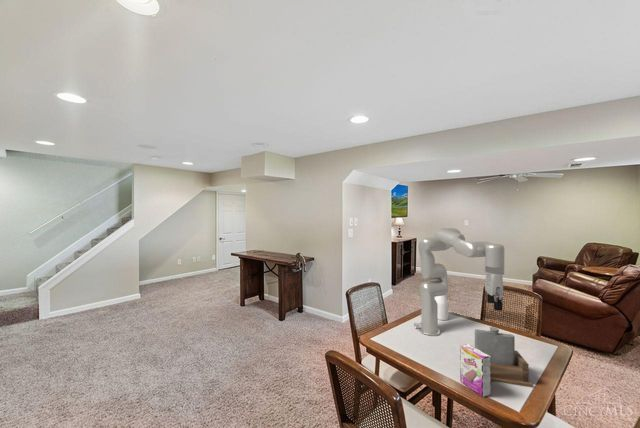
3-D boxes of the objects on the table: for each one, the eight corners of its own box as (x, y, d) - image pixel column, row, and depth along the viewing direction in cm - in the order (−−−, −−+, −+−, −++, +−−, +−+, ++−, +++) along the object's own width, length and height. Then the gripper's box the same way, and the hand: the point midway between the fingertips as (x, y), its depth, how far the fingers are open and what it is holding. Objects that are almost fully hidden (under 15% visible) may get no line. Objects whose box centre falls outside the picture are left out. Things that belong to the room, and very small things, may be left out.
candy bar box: (459, 381, 119) (459, 345, 119) (467, 379, 121) (467, 343, 121) (482, 398, 108) (482, 358, 108) (491, 395, 110) (491, 355, 110)
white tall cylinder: (449, 321, 184) (449, 278, 184) (434, 320, 187) (434, 277, 187) (447, 316, 193) (446, 275, 193) (432, 315, 196) (432, 274, 196)
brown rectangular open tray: (532, 387, 115) (532, 366, 115) (470, 377, 122) (470, 358, 122) (518, 367, 129) (518, 349, 129) (463, 360, 136) (463, 342, 136)
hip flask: (513, 372, 124) (513, 329, 124) (515, 376, 121) (515, 332, 120) (474, 364, 131) (474, 323, 131) (475, 368, 127) (475, 327, 127)
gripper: (480, 266, 135) (480, 299, 135) (491, 274, 118) (491, 312, 118) (497, 266, 132) (497, 301, 133) (511, 275, 116) (510, 314, 116)
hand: (494, 306), depth 125 cm, fingers open, 9 cm apart
